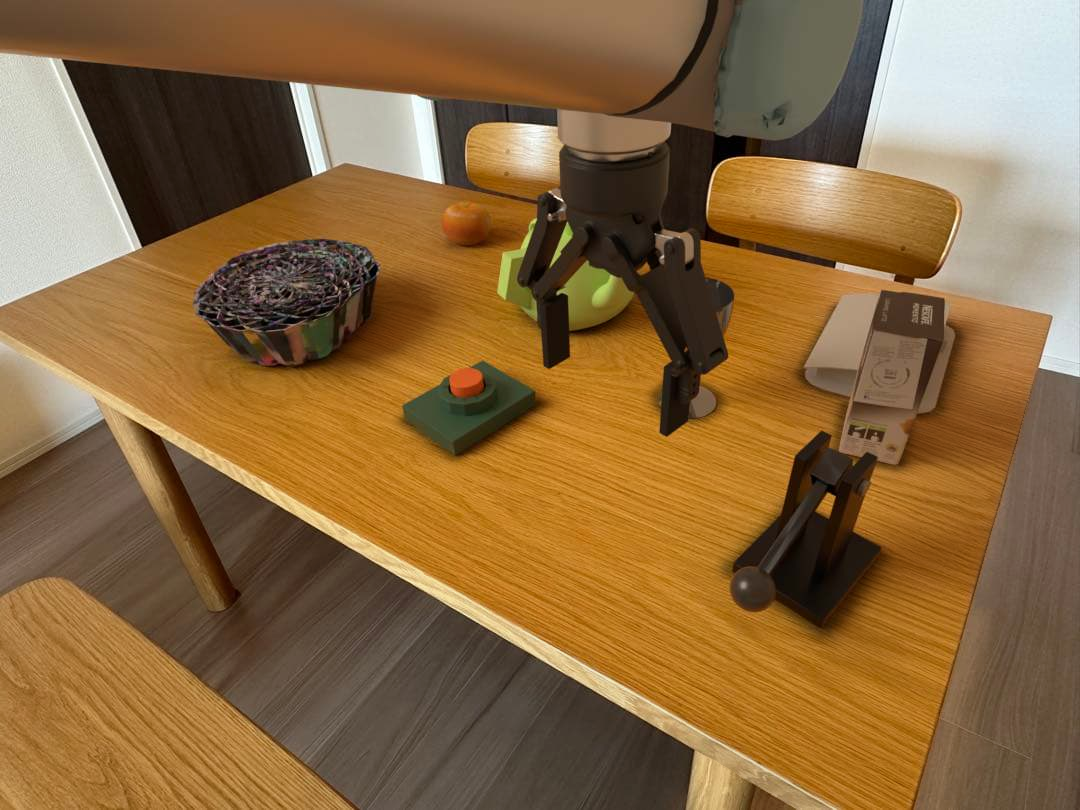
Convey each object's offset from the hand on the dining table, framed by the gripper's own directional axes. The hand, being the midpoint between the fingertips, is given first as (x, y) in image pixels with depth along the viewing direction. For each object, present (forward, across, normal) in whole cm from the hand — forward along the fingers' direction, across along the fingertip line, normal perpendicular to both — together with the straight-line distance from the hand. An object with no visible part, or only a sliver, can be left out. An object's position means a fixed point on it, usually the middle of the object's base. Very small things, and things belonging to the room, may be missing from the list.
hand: (611, 392), depth 60 cm
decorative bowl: (+17, +60, +3) cm, 62 cm away
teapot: (+17, +32, -28) cm, 46 cm away
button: (+13, +25, -2) cm, 28 cm away
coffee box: (+17, -12, -31) cm, 37 cm away
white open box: (+18, -5, -47) cm, 51 cm away
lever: (+10, -17, -5) cm, 20 cm away
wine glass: (+17, +7, -22) cm, 29 cm away
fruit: (+17, +65, -32) cm, 74 cm away
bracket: (+17, -16, -9) cm, 25 cm away
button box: (+17, +25, -2) cm, 30 cm away
